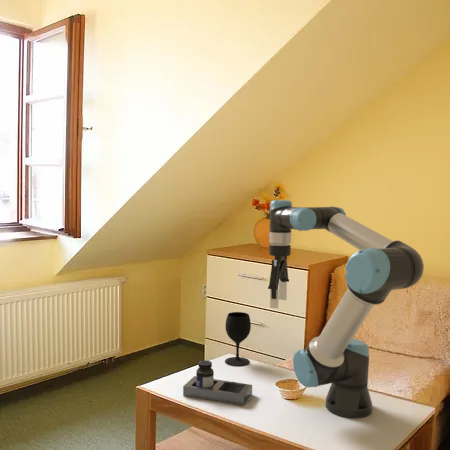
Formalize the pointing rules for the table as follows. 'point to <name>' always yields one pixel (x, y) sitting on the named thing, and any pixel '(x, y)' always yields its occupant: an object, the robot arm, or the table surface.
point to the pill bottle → (204, 375)
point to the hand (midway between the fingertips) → (278, 303)
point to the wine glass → (237, 335)
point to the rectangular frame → (220, 391)
